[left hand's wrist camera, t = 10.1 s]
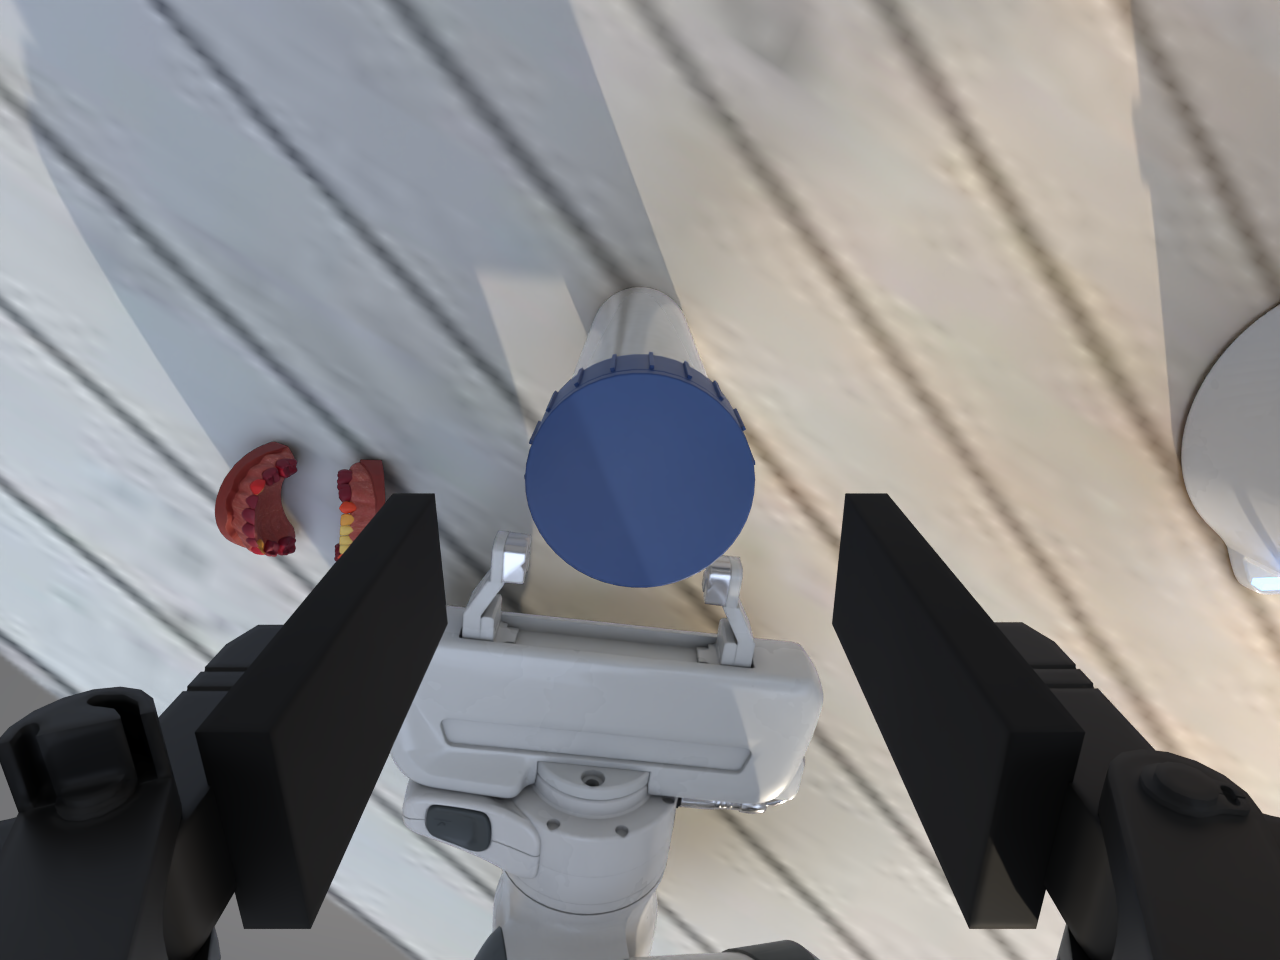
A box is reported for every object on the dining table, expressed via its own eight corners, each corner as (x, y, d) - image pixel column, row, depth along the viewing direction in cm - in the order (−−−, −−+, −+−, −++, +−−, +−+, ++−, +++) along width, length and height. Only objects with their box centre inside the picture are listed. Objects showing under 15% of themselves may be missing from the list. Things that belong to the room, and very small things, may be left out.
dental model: (373, 596, 37) (206, 568, 36) (400, 560, 41) (249, 535, 40) (382, 488, 35) (206, 458, 35) (409, 462, 39) (251, 435, 39)
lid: (666, 586, 21) (669, 629, 19) (495, 482, 20) (477, 515, 18) (788, 429, 20) (805, 457, 18) (608, 307, 19) (604, 321, 16)
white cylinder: (652, 402, 38) (664, 600, 19) (572, 349, 37) (504, 503, 18) (708, 323, 36) (778, 454, 18) (626, 266, 36) (611, 342, 17)
